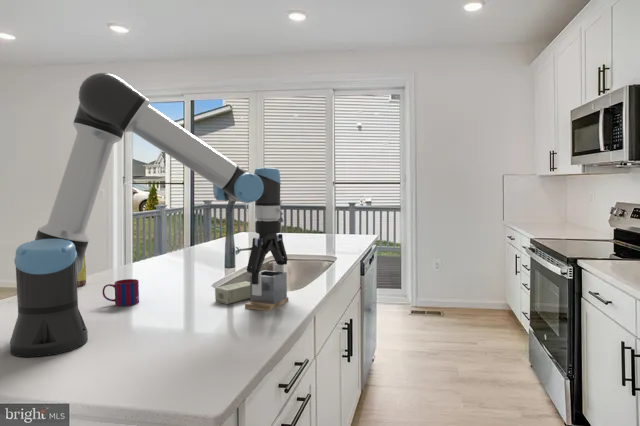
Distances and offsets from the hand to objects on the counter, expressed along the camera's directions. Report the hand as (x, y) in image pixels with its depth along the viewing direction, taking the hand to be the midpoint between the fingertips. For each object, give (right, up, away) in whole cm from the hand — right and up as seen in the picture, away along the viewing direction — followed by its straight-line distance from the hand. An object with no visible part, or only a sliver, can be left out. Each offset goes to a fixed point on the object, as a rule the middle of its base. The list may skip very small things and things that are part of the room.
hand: (268, 290), depth 138 cm
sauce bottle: (-72, -3, +27) cm, 77 cm away
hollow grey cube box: (0, -3, 0) cm, 3 cm away
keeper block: (0, -4, -1) cm, 4 cm away
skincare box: (-15, -2, +1) cm, 15 cm away
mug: (-45, -5, +1) cm, 45 cm away
